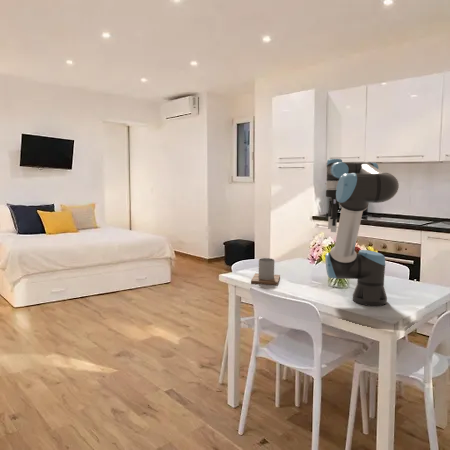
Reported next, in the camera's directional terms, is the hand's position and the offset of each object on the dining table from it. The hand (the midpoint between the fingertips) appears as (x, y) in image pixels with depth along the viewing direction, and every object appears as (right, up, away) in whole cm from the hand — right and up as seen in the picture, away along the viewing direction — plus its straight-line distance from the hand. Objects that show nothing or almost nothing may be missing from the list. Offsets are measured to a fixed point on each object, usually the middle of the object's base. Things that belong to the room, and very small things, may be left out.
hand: (332, 230), depth 221 cm
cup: (-33, -26, +11) cm, 43 cm away
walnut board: (-33, -27, +11) cm, 44 cm away
